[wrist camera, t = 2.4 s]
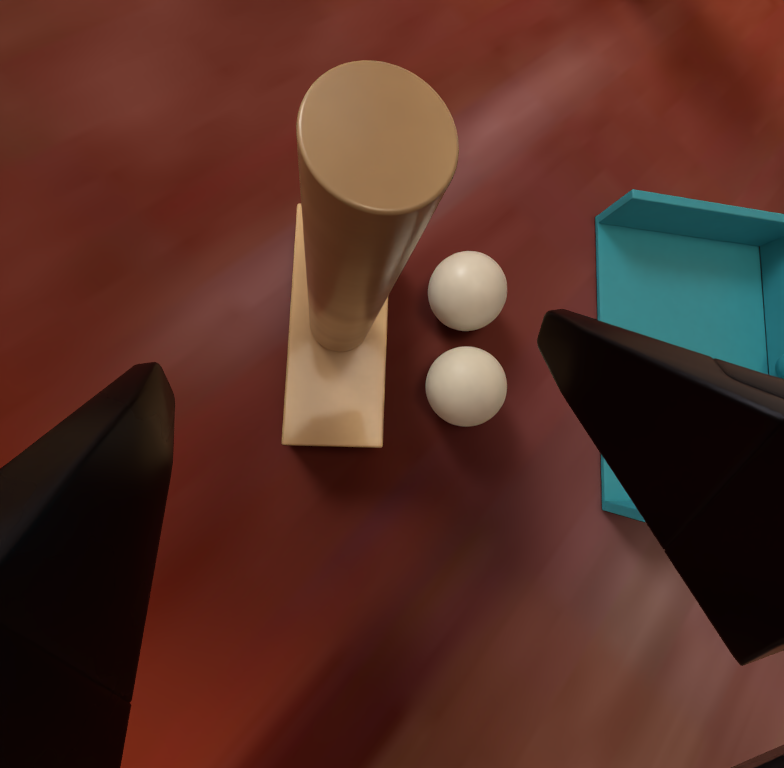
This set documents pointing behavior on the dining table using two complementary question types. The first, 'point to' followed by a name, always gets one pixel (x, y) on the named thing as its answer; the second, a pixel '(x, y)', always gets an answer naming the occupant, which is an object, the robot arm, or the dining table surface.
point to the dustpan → (691, 285)
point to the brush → (357, 240)
